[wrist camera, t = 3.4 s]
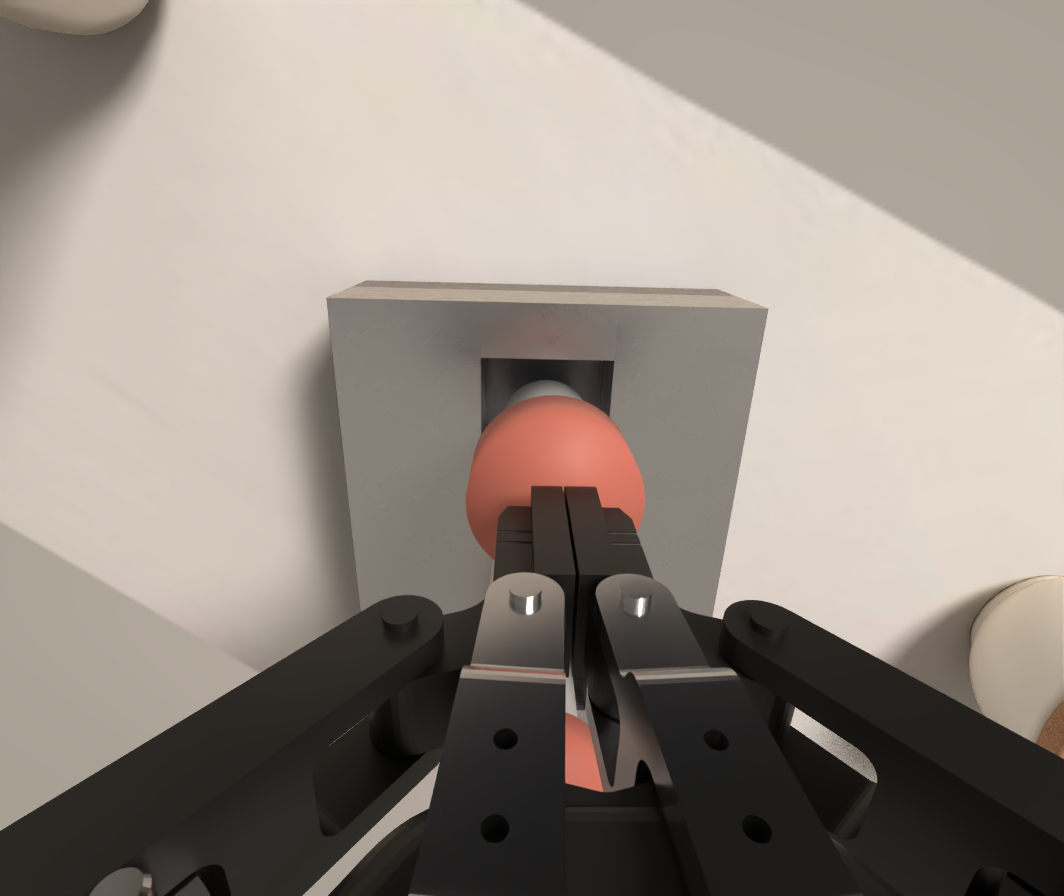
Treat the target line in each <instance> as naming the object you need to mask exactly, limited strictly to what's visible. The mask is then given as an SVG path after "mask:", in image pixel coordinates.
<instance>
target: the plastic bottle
mask: <svg viewBox="0 0 1064 896" xmlns="http://www.w3.org/2000/svg"><path fill="white" fill-rule="evenodd" d="M148 2H149V0H0V16H2V17H4V18H6V19H8V20H10V21H12V22H14V23H17V24H21V25H25V26H28V27H32V28H35V29H39V30H46V31H52V32H59V33H66V34H75V35H95V34H102V33H108V32H110V31H113V30H115V29H117V28H119V27H122V26H124V25H126V24H127V23H128V22H129V21H131V20H132V19H133V18H135V17H136V16H137V15H138V14H140V12H141V11H142V10H143V8H144V7H145V6H146V4H147V3H148Z"/></svg>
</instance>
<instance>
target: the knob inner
mask: <svg viewBox="0 0 1064 896" xmlns="http://www.w3.org/2000/svg"><path fill="white" fill-rule="evenodd" d="M531 486H562V487H563V492H564V486H592V487H596V488H597V491H598V495H599V499H600V502H601V506H602V507H608V508H620V509H621V510H622V511H623V512H624V513H626V514H627V515H628V516H629V517H630V518H631V519H632V520H633V523H634V526H635V529H636V531H637V530H638V528H639V526H640V523H641V521H642V518H643V513H644V508H645V490H644V483H643V480H642V476H641V473H640V471H639V469H638V466H637V464H636V462H635V460H634V458H633V456H632V453H631V451H630V449H629V447H628V445H627V443H626V441H625V438H624V436H623V434H622V433H621V431H620V430H619V428H618V426H617V425H616V424H615V423H614V422H613V420H612V419H611V418H610V417H609V416H607V415H606V414H605V413H604V412H603V411H601V410H600V409H598V408H597V407H596V406H594V405H592V404H590V403H588V402H585V401H583V399H582V397H581V396H580V395H579V394H578V393H577V392H576V391H575V390H574V389H572V388H571V387H570V386H568V385H566V384H564V383H561V382H558V381H553V380H539V381H534V382H531V383H528V384H526V385H524V386H522V387H521V388H519V389H518V390H517V391H515V392H514V393H513V395H512V396H511V397H510V398H509V400H508V401H507V403H506V405H505V407H504V410H503V411H502V412H501V413H500V414H499V415H497V416H496V417H495V418H494V419H493V420H492V421H491V422H490V423H489V424H488V426H487V427H486V429H485V430H484V431H483V433H482V435H481V436H480V438H479V440H478V442H477V445H476V448H475V451H474V456H473V460H472V466H471V471H470V476H469V481H468V486H467V492H466V514H467V518H468V522H469V526H470V528H471V530H472V533H473V535H474V537H475V538H476V540H477V542H478V543H479V545H480V546H481V547H482V549H483V550H484V551H485V552H486V553H487V554H488V555H489V556H490V557H491V558H492V559H493V560H495V550H496V537H497V525H498V517H499V516H500V515H501V513H502V512H503V511H504V510H505V509H506V508H507V507H508V506H530V501H531Z"/></svg>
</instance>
